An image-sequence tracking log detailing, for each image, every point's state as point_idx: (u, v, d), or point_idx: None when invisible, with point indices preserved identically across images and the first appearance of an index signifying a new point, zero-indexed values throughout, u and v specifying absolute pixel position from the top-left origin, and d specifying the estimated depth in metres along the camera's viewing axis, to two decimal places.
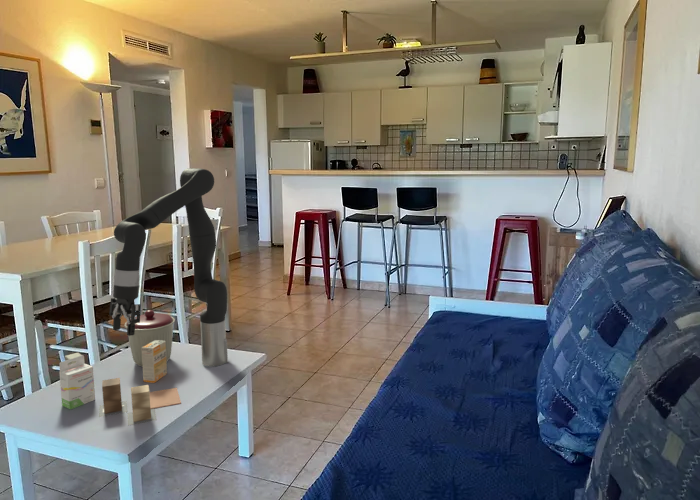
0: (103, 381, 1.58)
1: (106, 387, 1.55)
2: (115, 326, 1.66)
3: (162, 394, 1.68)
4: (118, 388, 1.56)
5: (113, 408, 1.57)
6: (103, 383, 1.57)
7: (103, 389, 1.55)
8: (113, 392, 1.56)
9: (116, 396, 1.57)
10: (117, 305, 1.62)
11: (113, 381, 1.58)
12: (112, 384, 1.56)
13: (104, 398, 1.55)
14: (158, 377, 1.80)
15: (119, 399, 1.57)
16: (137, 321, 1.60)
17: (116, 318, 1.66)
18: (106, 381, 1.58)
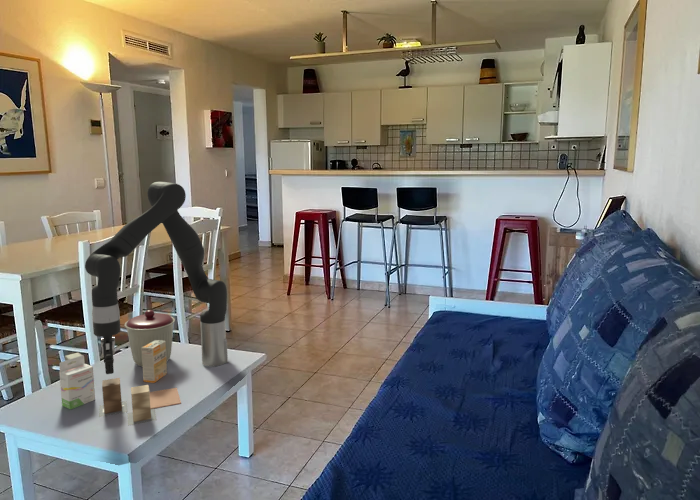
0: (103, 381, 1.58)
1: (106, 387, 1.55)
2: None
3: (162, 394, 1.68)
4: (118, 388, 1.56)
5: (113, 408, 1.57)
6: (103, 383, 1.57)
7: (103, 389, 1.55)
8: (113, 392, 1.56)
9: (116, 396, 1.57)
10: (101, 340, 1.55)
11: (113, 381, 1.58)
12: (112, 384, 1.56)
13: (104, 398, 1.55)
14: (158, 377, 1.80)
15: (119, 399, 1.57)
16: (110, 360, 1.50)
17: None
18: (106, 381, 1.58)
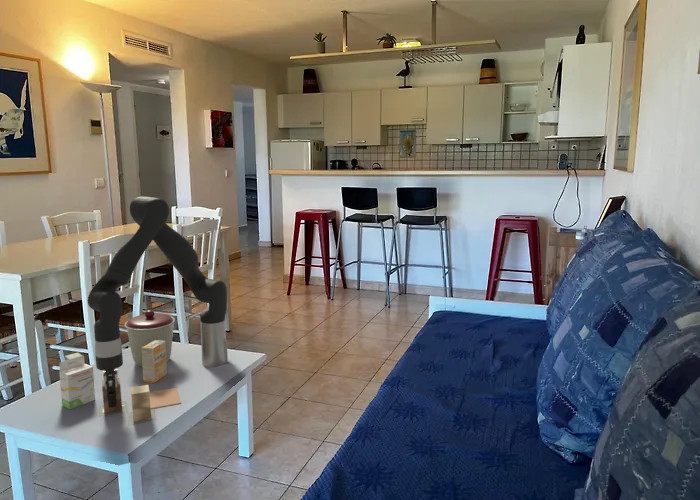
0: (103, 381, 1.58)
1: None
2: None
3: (162, 394, 1.68)
4: (118, 388, 1.56)
5: (113, 408, 1.57)
6: (103, 383, 1.57)
7: (103, 389, 1.55)
8: None
9: (116, 396, 1.57)
10: None
11: None
12: None
13: (104, 398, 1.55)
14: (158, 377, 1.80)
15: (119, 399, 1.57)
16: (113, 395, 1.53)
17: None
18: None
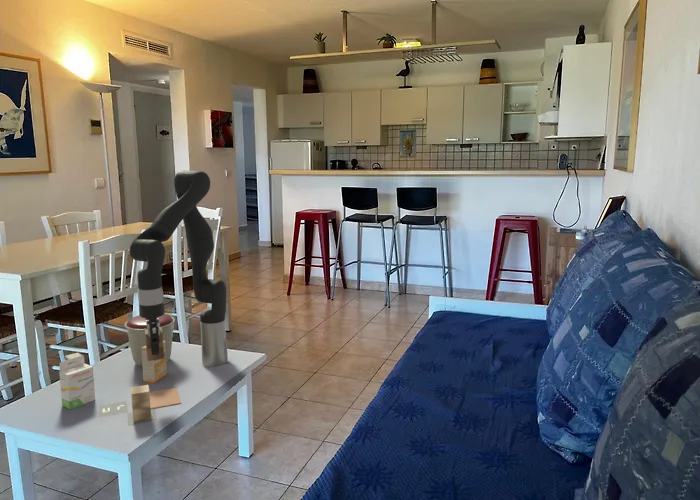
0: (146, 330, 1.62)
1: None
2: None
3: (162, 394, 1.68)
4: (160, 336, 1.61)
5: (156, 356, 1.61)
6: (146, 331, 1.61)
7: (146, 337, 1.59)
8: None
9: None
10: (146, 322, 1.62)
11: None
12: None
13: (147, 346, 1.59)
14: (158, 377, 1.80)
15: (161, 347, 1.61)
16: (156, 342, 1.57)
17: None
18: None
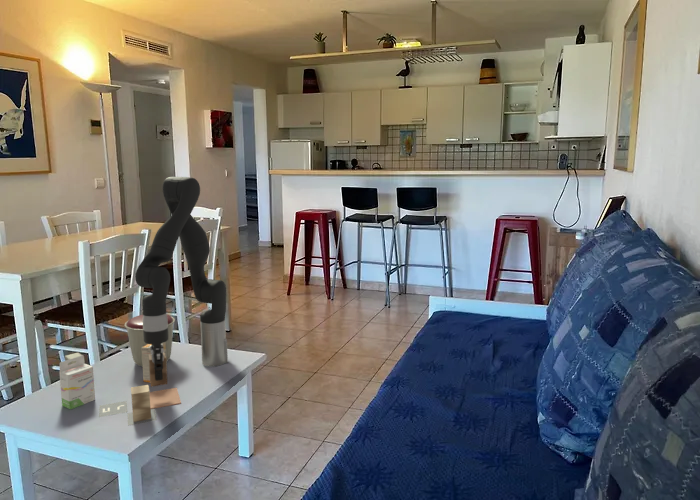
0: (149, 355, 1.63)
1: None
2: None
3: (162, 394, 1.68)
4: (164, 362, 1.62)
5: (159, 381, 1.62)
6: (150, 357, 1.62)
7: (150, 362, 1.60)
8: (159, 365, 1.61)
9: (162, 370, 1.62)
10: (150, 348, 1.63)
11: None
12: None
13: (151, 371, 1.61)
14: None
15: (165, 373, 1.63)
16: (160, 368, 1.59)
17: None
18: None
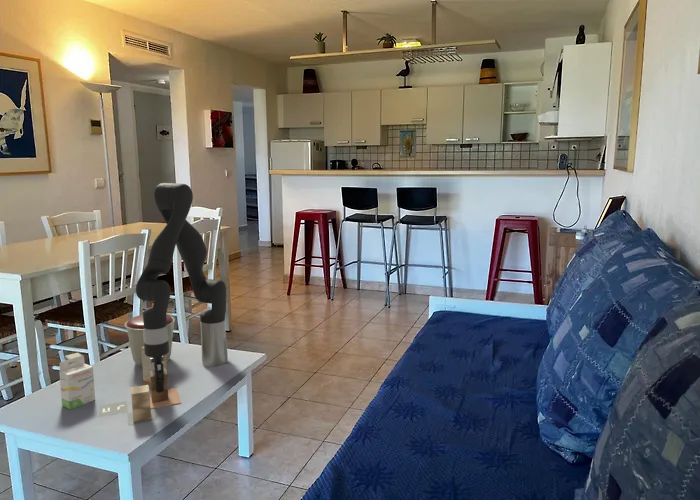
0: (151, 372, 1.65)
1: (154, 377, 1.61)
2: None
3: None
4: (165, 378, 1.63)
5: (161, 398, 1.63)
6: (151, 373, 1.63)
7: (151, 379, 1.61)
8: None
9: None
10: None
11: None
12: None
13: (152, 388, 1.62)
14: None
15: (166, 389, 1.64)
16: (161, 380, 1.58)
17: None
18: None
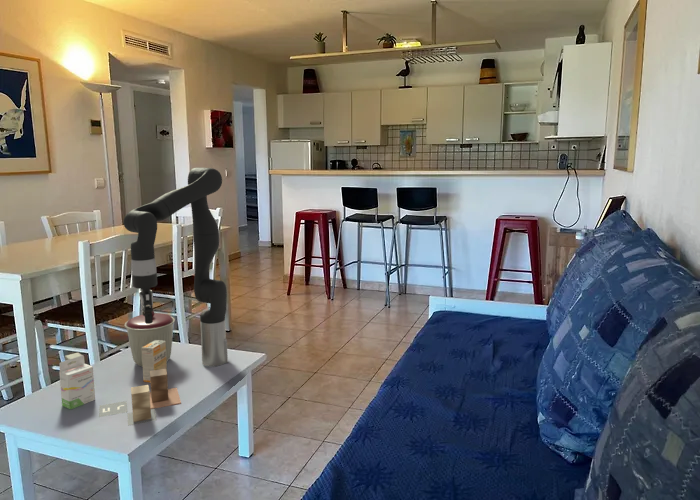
0: (151, 372, 1.65)
1: (154, 377, 1.61)
2: (144, 312, 1.70)
3: None
4: (165, 378, 1.63)
5: (161, 398, 1.63)
6: (151, 373, 1.63)
7: (151, 379, 1.61)
8: (160, 382, 1.63)
9: (163, 386, 1.63)
10: (139, 293, 1.65)
11: (160, 372, 1.65)
12: (159, 374, 1.63)
13: (152, 388, 1.62)
14: None
15: (166, 389, 1.64)
16: (149, 310, 1.60)
17: None
18: (153, 371, 1.65)
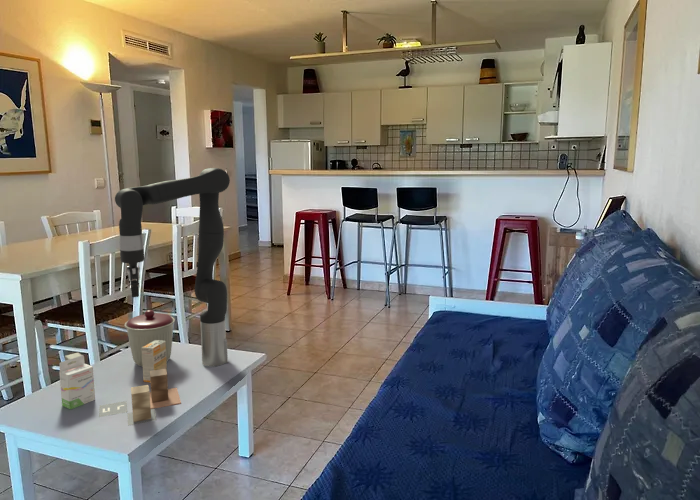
0: (151, 372, 1.65)
1: (154, 377, 1.61)
2: None
3: None
4: (165, 378, 1.63)
5: (161, 398, 1.63)
6: (151, 373, 1.63)
7: (151, 379, 1.61)
8: (160, 382, 1.63)
9: (163, 386, 1.63)
10: (127, 268, 1.73)
11: (160, 372, 1.65)
12: (159, 374, 1.63)
13: (152, 388, 1.62)
14: None
15: (166, 389, 1.64)
16: (136, 284, 1.67)
17: None
18: (153, 371, 1.65)
